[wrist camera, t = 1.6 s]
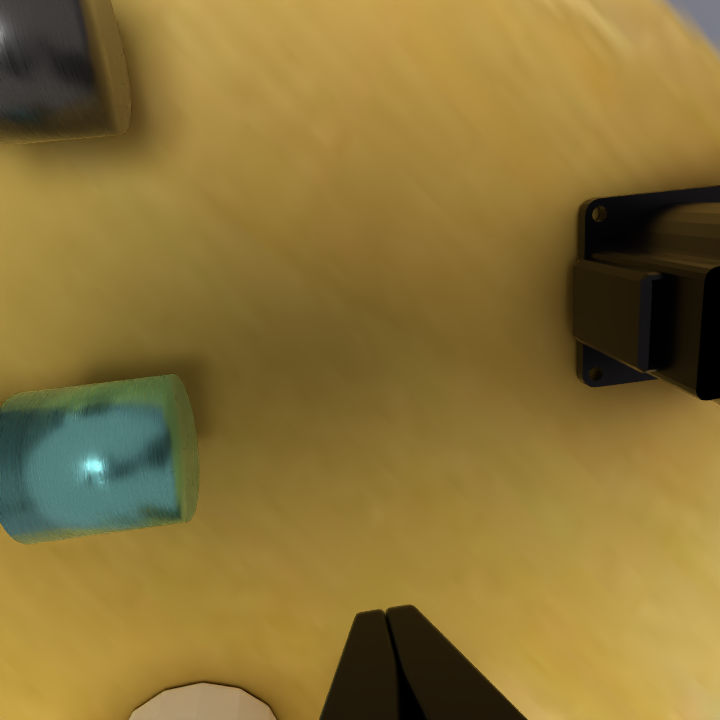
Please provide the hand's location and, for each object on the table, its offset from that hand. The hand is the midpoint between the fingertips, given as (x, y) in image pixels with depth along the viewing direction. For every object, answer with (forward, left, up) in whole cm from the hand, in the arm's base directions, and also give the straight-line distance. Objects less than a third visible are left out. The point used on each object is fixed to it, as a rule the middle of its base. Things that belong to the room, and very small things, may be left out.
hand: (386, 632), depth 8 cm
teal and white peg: (+10, 0, -10) cm, 14 cm away
